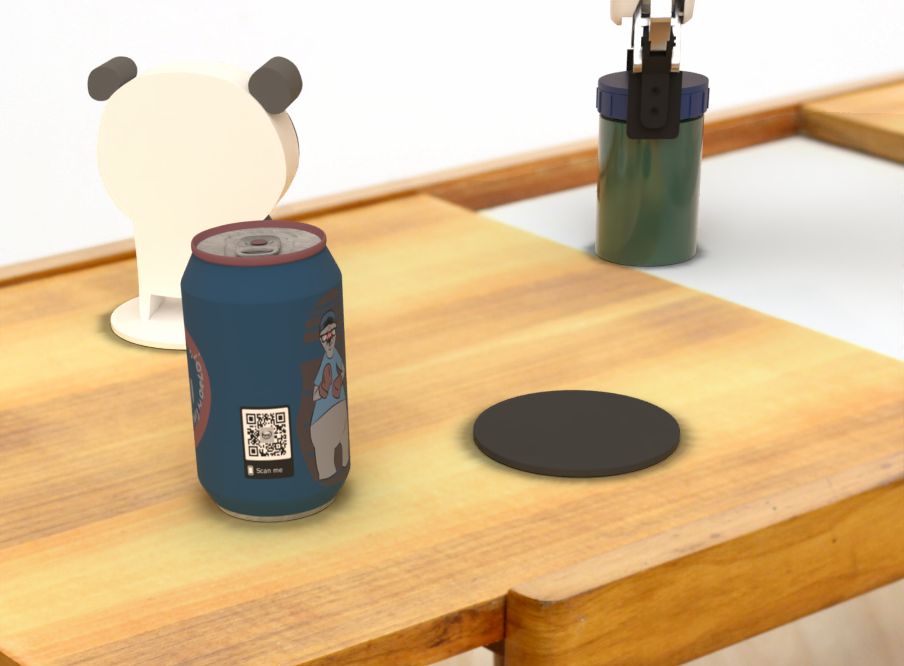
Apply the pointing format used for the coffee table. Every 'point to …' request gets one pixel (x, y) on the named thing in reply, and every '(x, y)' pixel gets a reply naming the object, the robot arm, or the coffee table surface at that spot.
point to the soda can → (267, 368)
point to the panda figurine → (189, 167)
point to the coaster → (576, 433)
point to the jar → (648, 194)
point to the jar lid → (616, 95)
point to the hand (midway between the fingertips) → (650, 122)
